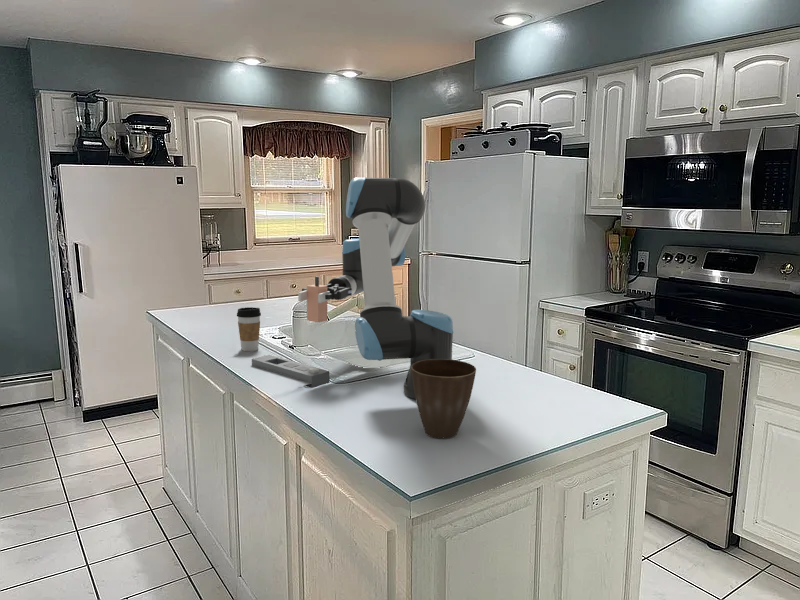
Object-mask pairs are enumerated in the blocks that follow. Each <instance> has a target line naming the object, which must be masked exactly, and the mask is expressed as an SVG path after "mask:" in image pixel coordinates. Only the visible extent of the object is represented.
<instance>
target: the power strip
mask: <svg viewBox="0 0 800 600" xmlns="http://www.w3.org/2000/svg"><path fill="white" fill-rule="evenodd" d="M251 366H253V367H256V368H259V369H264V370H267V371H269V372H274V373H277V374H280V375H283V376H286V377H289V378H293V379H296V380H300V381H304V382H307V384H304V385H303V386H305V387H307V388H311V389H313V388H315V387H320V386H323V385H326V383H327V384H329V383H330V371H329V370H327V369H323V368H320V367H315V366H311V365H308V364H305V363H300V362H296V361H293V360H290V359H287V358H282V357H279V356H275V355H272V354H267V355H263V356H258V357H255V358H251Z"/></svg>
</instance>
